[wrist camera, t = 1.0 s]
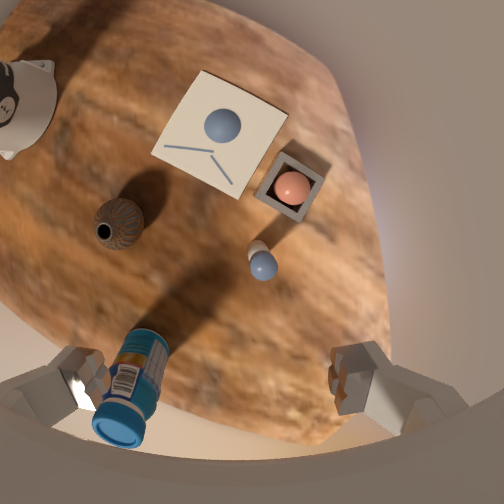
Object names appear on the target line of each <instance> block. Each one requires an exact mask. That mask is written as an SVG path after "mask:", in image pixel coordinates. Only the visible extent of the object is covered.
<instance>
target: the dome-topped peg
mask: <svg viewBox="0 0 504 504" xmlns="http://www.w3.org/2000/svg"><path fill="white" fill-rule="evenodd" d="M247 254H248V258H249V261H250V268H251V272H252V274H253V276H254V277H255V278H257V279H258V280H262V281H265V280H269V279H271V278H273V277H274V276H275V274H276V273H277V270H278V265H277V262H276V260H275V258H274V256H273V255H272V254H271V253H270V251H269V249H268V247H267V246H266V244H265V243H264V242H263V241H261V240H254V241H252V242H250V243H249V245H248V246H247Z"/></svg>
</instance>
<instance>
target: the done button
mask: <svg viewBox="0 0 504 504" xmlns="http://www.w3.org/2000/svg"><path fill="white" fill-rule="evenodd" d="M273 190H274V193H275V195H276V196H277V198H278V199H280V200H281V201H283V202H285V203H287V204H290V205H298V204H301V203H302V202H304V201H305V200H306V199H307V198H308V196H309V193H310V184H309V181H308V179H307V178H306V177H305V176H304V175H303V174H301V173H299V172H284V173H281V174H280V175H278V176H277V177H276V179H275V181H274V184H273Z"/></svg>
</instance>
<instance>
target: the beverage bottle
mask: <svg viewBox="0 0 504 504" xmlns="http://www.w3.org/2000/svg"><path fill="white" fill-rule="evenodd" d="M168 357H169V347H168V345H167V343H166V341H165V340H164V338H163V337H162V336H160V335H159V334H158V333H156V332H154V331H152V330H149V329H135V330H133V331H131V332H130V333H129V334H128V335H127V336H126V338H125V340H124V342H123V345H122V347H121V349H120V351H119V353H118V355H117V357H116V359H115V360H114V362H113V364H112V366H110V368H109V372H110V375H111V386H110V389H109V390H108V392H107V393H105V394H103V395H102V398H103V400H102V403H101V404H100V405H99V407H98V409H97V410H96V411H95V414H94V416H93V419H92V427H93V429H94V431H95V432H96V434H97V435H98V436H99V437H101V438H102V439H103V440H105V441H106V442H108V443H110V444H112V445H115V446H117V447H121V448H128V449H130V448H136V447H138V446H140V445H141V443H142V441H143V438H144V433H145V429H146V423H145V421H147V420H148V419H149V418H150V417H151V416H152V415H153V413H154V412H155V410H156V405H157V404H156V402H157V401H158V399H159V397H160V393H161V382H162V378H163V374H164V370H165V366H166V363H167V361H168Z"/></svg>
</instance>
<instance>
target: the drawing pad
mask: <svg viewBox="0 0 504 504" xmlns="http://www.w3.org/2000/svg"><path fill="white" fill-rule="evenodd" d="M287 116H288V115H286V114H285V113H283V112H281V111H279V110H278V109H276V108H274V107H273V106H271V105H269V104H267V103H265V102H264V101H262V100H260V99H258V98H256V97H255V96H253V95H251V94H249V93H247V92H245V91H243V90H241V89H239V88H237V87H235V86H233V85H231V84H229V83H227V82H225V81H223V80H221V79H219V78H217V77H215V76H212V75H210V74H208V73H206V72H204V71H201V72H200V73H199V75H198V76H197V78H196V79H195V81H194V82H193V84H192V85H191V87H190V88H189V90H188V91H187V93H186V94H185V96H184V97H183V99H182V101H181V102H180V104H179V105H178V107H177V109H176V110H175V112H174V114H173V115H172V117H171V119H170V120H169V122H168V124H167V125H166V127H165V129H164V131H163V132H162V134H161V136H160V138H159V140H158V141H157V143H156V145H155V147H154V149H153V151H152V152H151V154H152V155H154V156H156V157H158V158H160V159H162V160H164V161H166V162H168V163H170V164H171V165H173V166H175V167H177V168H179V169H181V170H183V171H185V172H187V173H189V174H191V175H193V176H195V177H196V178H198V179H200V180H202V181H204V182H206V183H208V184H210V185H212V186H213V187H215V188H217V189H219V190H221V191H223V192H225V193H226V194H228V195H230V196H232V197H234V198H236V199H237V200H238V199H239V197H240V195H241V194H242V192H243V190H244V188H245V187H246V185H247V183H248V182H249V180H250V178H251V176H252V175H253V173H254V171H255V170H256V168H257V166H258V164H259V163H260V161H261V159H262V158H263V156H264V154H265V153H266V151H267V149H268V148H269V146H270V144H271V143H272V141H273V139H274V138H275V136H276V134H277V133H278V131H279V129H280V128H281V126H282V124H283V123H284V121H285V120H286V118H287Z"/></svg>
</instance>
